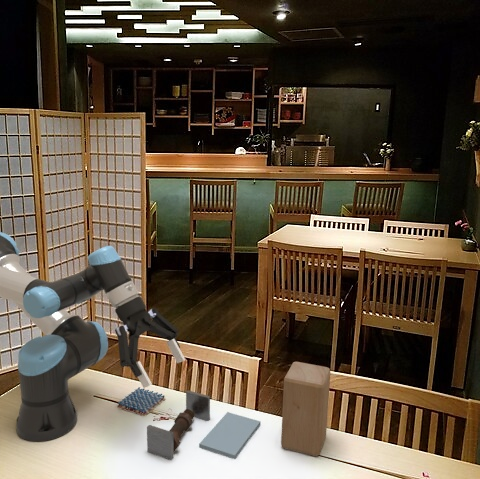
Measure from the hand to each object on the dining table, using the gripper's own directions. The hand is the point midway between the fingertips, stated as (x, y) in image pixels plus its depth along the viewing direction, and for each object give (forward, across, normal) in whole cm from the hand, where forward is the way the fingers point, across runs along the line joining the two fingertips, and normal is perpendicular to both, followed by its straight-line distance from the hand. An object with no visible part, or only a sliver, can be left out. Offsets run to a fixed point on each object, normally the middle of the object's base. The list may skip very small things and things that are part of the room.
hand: (165, 373), depth 130 cm
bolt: (+16, -2, +5) cm, 17 cm away
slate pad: (+23, +5, -5) cm, 24 cm away
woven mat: (+7, +4, +21) cm, 22 cm away
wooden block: (+33, +13, -19) cm, 40 cm away
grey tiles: (+16, -2, +4) cm, 17 cm away
